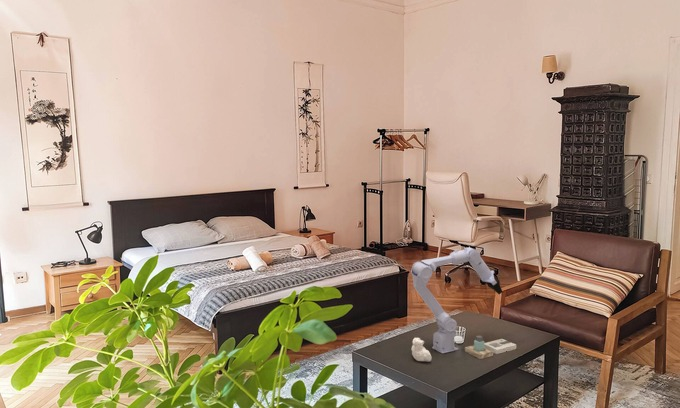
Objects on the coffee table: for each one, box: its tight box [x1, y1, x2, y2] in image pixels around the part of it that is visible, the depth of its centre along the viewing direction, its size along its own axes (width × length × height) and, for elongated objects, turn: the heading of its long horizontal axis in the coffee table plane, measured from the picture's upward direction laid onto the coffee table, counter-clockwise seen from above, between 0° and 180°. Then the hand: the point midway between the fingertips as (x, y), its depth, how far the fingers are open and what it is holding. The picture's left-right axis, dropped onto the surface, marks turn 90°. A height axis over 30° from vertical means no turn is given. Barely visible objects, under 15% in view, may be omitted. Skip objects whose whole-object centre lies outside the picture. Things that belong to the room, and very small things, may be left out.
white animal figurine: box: [410, 337, 432, 362], centre depth 232 cm, size 12×8×11 cm
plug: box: [473, 335, 485, 352], centre depth 238 cm, size 3×3×8 cm
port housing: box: [484, 338, 517, 355], centre depth 244 cm, size 12×9×2 cm
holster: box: [464, 344, 494, 360], centre depth 238 cm, size 8×10×2 cm
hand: (497, 290), depth 248 cm, fingers open, 7 cm apart
